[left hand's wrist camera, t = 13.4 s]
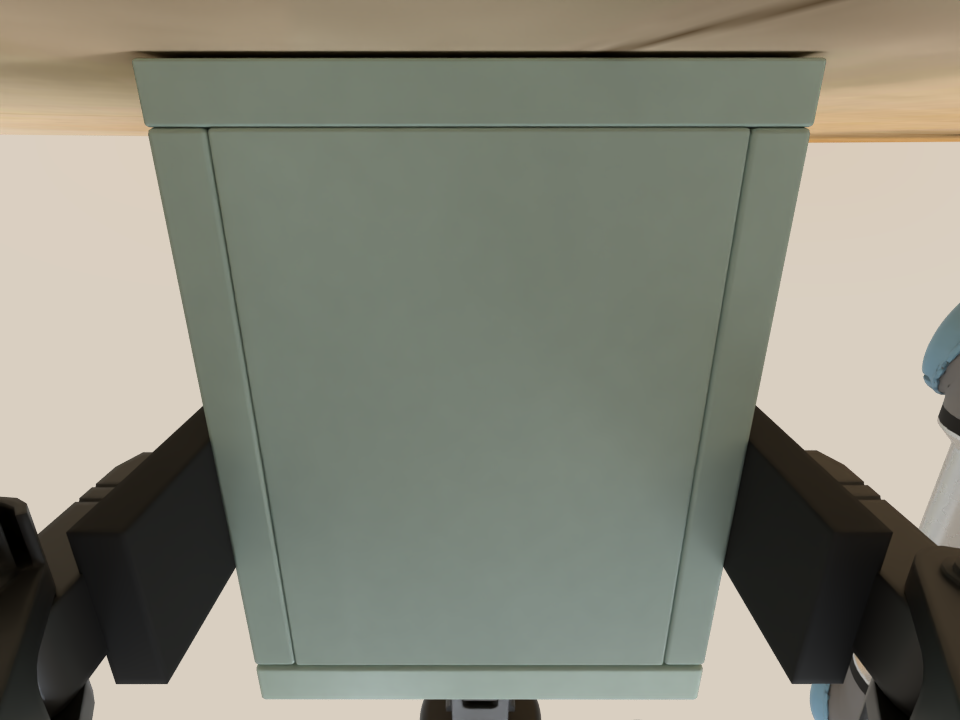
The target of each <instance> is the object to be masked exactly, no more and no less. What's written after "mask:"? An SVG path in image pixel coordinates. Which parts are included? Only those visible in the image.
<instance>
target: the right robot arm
mask: <svg viewBox="0 0 960 720" xmlns="http://www.w3.org/2000/svg"><path fill="white" fill-rule="evenodd" d="M922 371H923V373H924V374H925V375H924V380H925V383H926V384H927V385H928V386H929V387H930V388H932V389H933V390H934V391H935V392H936V393H938V394H941V395H945V399H944V402H943V405H942V408H941V410H940V413H939V416H938V424H939V425H940V427H941V428H942V429H943V431H944V432H945V433H946V435H947V436H948V437H949V439H950V440H951V442H952V443H951V446H950V448H949V451H948V454H947V456H946V459H945V461H944V464H943V467H942V469H941V472H940V475H939V477H938V480H937V482H936V485H935V488H934V490H933V493H932V495H931V498H930V501H929V503H928V506H927V508H926V511H925V514H924V516H923V519H922V521H921V524H920V527H919V530H920V531H921V532H923V533H924V534H925V535H926V536H927V537H928V538H930V539H931V540H932V541H933V542H934V543H935V544H937V545H938V546H948V547H954V548H960V303H959V304H958V305H957V306H956V307H955V308H954V309H953V310H952V311H951V312H950V314H949V315H948V316H947V317H946V318H945V320H944V321H943V322H942V323H941V325H940V326H939V328H938V329H937V331H936V332H935V334H934V336H933V338H932V339H931V341H930V343H929V345H928V348H927V350H926V353H925V356H924V360H923V365H922ZM871 678H872V677H871V675H870V674H869V673H868V671H867V670H866V669H865V667H864V666H863V665H862V663H861V662H860V661H859V659H858V658H857V657H856V655H855V654H854V653H853V656H852V659H851V662H850V665H849V668H848V671H847V674H846V677H845V680H844V683H843V684H812V686H811V691H810V706H811V711H812V714H813V717H814V719H815V720H857V718H858V715H859V712H860V709H861V707H862V704H863V701H864V698H865V695H866V692H867V690H868V687H869V684H870V681H871ZM420 720H541V714H540V708H539V704H538V701H537V699H424V701H423V704H422V708H421V713H420Z"/></svg>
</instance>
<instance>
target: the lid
mask: <svg viewBox="0 0 960 720" xmlns="http://www.w3.org/2000/svg"><path fill="white" fill-rule="evenodd" d="M702 669H703V668H702V665H701V664H666V663H665V662H664V660H663V664H662V665H298V664H297V663H296V660H295V662H294V663H293V664H258V666H257V674H258V679H259V684H260V689H261V694H262V697H263V698H264V699H696V698H697V695H698V690H699V685H700V680H701V675H702Z"/></svg>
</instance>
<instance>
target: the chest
mask: <svg viewBox="0 0 960 720" xmlns="http://www.w3.org/2000/svg"><path fill="white" fill-rule="evenodd" d="M132 64H133V69H134V74H135V79H136V84H137V89H138V93H139V98H140V103H141V108H142V113H143V118H144V123H145V125H146V126H148V127H154V128H152V129H150V130H149V133H148V136H149V141H150V146H151V150H152V155H153V160H154V165H155V170H156V175H157V180H158V185H159V190H160V195H161V200H162V205H163V210H164V215H165V219H166V225H167V229H168V234H169V239H170V244H171V249H172V254H173V259H174V264H175V269H176V274H177V279H178V284H179V289H180V294H181V299H182V304H183V308H184V313H185V318H186V323H187V328H188V333H189V338H190V343H191V348H192V353H193V358H194V363H195V367H196V373H197V378H198V382H199V387H200V392H201V397H202V402H203V407H204V412H205V417H206V422H207V427H208V432H209V437H210V442H211V447H212V451H213V456H214V461H215V466H216V471H217V476H218V481H219V486H220V491H221V496H222V501H223V506H224V511H225V516H226V521H227V526H228V531H229V535H230V540H231V545H232V550H233V555H234V560H235V565H236V570H237V575H238V580H239V585H240V590H241V595H242V600H243V605H244V609H245V614H246V619H247V624H248V629H249V634H250V639H251V644H252V649H253V654H254V659H255V662H256V663H257V664H293V663H294V662H295V660H296V663H297V664H298V665H662V664H663V660H664V662H665V663H666V664H702V663H704V660H705V655H706V650H707V645H708V640H709V635H710V630H711V625H712V620H713V615H714V610H715V605H716V600H717V595H718V590H719V585H720V580H721V575H722V570H723V565H724V560H725V555H726V550H727V545H728V540H729V535H730V530H731V525H732V520H733V515H734V510H735V505H736V500H737V495H738V490H739V485H740V480H741V475H742V470H743V465H744V460H745V455H746V450H747V445H748V440H749V435H750V430H751V425H752V420H753V415H754V410H755V405H756V400H757V395H758V390H759V385H760V380H761V375H762V370H763V365H764V360H765V356H766V351H767V345H768V340H769V335H770V331H771V326H772V321H773V316H774V311H775V306H776V301H777V296H778V291H779V286H780V281H781V276H782V271H783V266H784V261H785V256H786V251H787V246H788V241H789V236H790V231H791V226H792V221H793V216H794V211H795V206H796V201H797V196H798V191H799V186H800V181H801V176H802V171H803V166H804V161H805V156H806V151H807V146H808V141H809V136H810V132H809V130H808V129H807V128H805V127H809V126H812V125H813V123H814V119H815V114H816V109H817V104H818V99H819V94H820V89H821V84H822V79H823V74H824V69H825V64H826V59H824V58H135V59H133V60H132Z"/></svg>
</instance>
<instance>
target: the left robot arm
mask: <svg viewBox="0 0 960 720" xmlns="http://www.w3.org/2000/svg"><path fill="white" fill-rule="evenodd" d="M723 567H724V569H725V570H726V572H727V574H728V575H729V577H730V579H731V581H732V582H733V584H734V586H735V587H736V589H737V591H738V593H739V594H740V596H741V598H742V599H743V601H744V603H745V604H746V606H747V608H748V610H749V611H750V613H751V615H752V616H753V618H754V620H755V622H756V623H757V625H758V627H759V628H760V630H761V632H762V634H763V635H764V637H765V639H766V640H767V642H768V644H769V646H770V647H771V649H772V651H773V652H774V654H775V656H776V657H777V659H778V661H779V663H780V664H781V666H782V668H783V669H784V671H785V673H786V675H787V676H788V678H789V680H790V681H791V683H792V684H843V683H844V680H845V677H846V674H847V671H848V668H849V665H850V662H851V659H852V656H853V653H854V654H855V655H856V657H857V658H858V659H859V661H860V662H861V663H862V665H863V666H864V667H865V669H866V670H867V671H868V673H869V674H870V675H871V677H872V678H871V681H870V684H869V687H868V690H867V692H866V695H865V698H864V701H863V704H862V707H861V709H860V712H859V715H858V718H857V720H960V548H954V547H948V546H938V545H937V544H935V543H934V542H933V541H932V540H931V539H930V538H928V537H927V536H926V535H925V534H924V533H923V532H921V531H920V530H919V529H918V528H917V527H916V526H915V525H913V524H912V523H911V522H910V521H909V520H908V519H906V518H905V517H904V516H903V515H902V514H901V513H899V512H898V511H897V510H896V509H895V508H894V507H892V506H891V505H890V504H889V503H888V502H887V501H885V500H881V498H880V495H879V494H877V493H876V492H875V491H874V490H873V489H872V488H870V487H869V486H868V485H864V482H863V481H862V480H861V479H860V478H859V477H858V476H856V475H855V474H854V473H853V472H852V471H851V470H849V469H848V468H847V467H846V466H845V465H843V464H841V463H840V462H838V461H836V460H834V459H832V458H830V457H828V456H826V455H824V454H822V453H821V452H819V451H812V450H811V451H810V450H808V451H806V450H804V449H802V448H801V447H800V446H799V445H798V444H797V443H796V442H795V441H794V440H793V439H792V438H790V437H789V436H788V435H787V434H786V433H785V432H784V431H783V430H782V429H781V428H780V427H779V426H777V425H776V424H775V423H774V422H773V421H772V420H771V419H770V418H769V417H768V416H767V415H766V414H764V413H763V412H762V411H761V410H760V409H759V408H758V407H757V406H756V405H755V410H754V415H753V420H752V425H751V430H750V435H749V440H748V445H747V450H746V455H745V460H744V465H743V470H742V475H741V480H740V485H739V490H738V495H737V500H736V505H735V510H734V515H733V520H732V525H731V530H730V535H729V540H728V545H727V550H726V555H725V560H724V565H723ZM235 568H236V565H235V560H234V555H233V550H232V545H231V540H230V535H229V531H228V526H227V521H226V516H225V511H224V506H223V501H222V496H221V491H220V486H219V481H218V476H217V471H216V466H215V461H214V456H213V451H212V447H211V442H210V437H209V432H208V427H207V422H206V417H205V412H204V407H201V408H200V409H199V410H198V411H197V412H196V413H195V414H194V415H193V416H192V417H191V418H189V419H188V420H187V421H186V422H185V423H184V424H183V425H182V426H181V427H180V428H179V429H178V430H176V431H175V432H174V433H173V434H172V435H171V436H170V437H169V438H168V439H167V440H166V441H165V442H163V443H162V444H161V445H160V446H159V447H158V448H157V449H156V450H155V451H154V452H143V453H141V454H139V455H137V456H135V457H134V458H132V459H130V460H128V461H126V462H124V463H122V464H120V465H118V466H117V467H115V468H114V469H113V470H112V471H110V472H109V473H108V474H107V475H106V476H105V477H104V478H102V479H101V480H100V481H99V482H98V483H97V484H96V487H92V488H91V489H90V490H89V491H87V492H86V493H85V494H84V495H83V496H82V497H80V500H79V502H75V503H73V504H72V505H71V506H70V507H69V508H68V509H67V510H65V511H64V512H63V513H62V514H61V515H60V516H59V517H57V518H56V519H55V520H54V521H53V522H52V523H50V524H49V525H48V526H47V527H46V528H45V529H44V530H42V531H41V532H40V533H39V534H37V532H36V529H35V526H34V523H33V520H32V517H31V515H30V512H29V509H28V506H27V504H26V503H25V502H23V501H21V500H20V499H18V498H10V497H0V720H92V716H93V710H94V703H95V702H94V695H93V690H92V687H91V684H90V681H89V678H90V676H91V675H92V673H93V672H94V671H95V669H96V668H97V667H98V665H99V664H100V663H101V661H102V660H103V659H104V657H105V656H106V655H107V658H108V661H109V664H110V667H111V670H112V673H113V676H114V679H115V682H116V684H168V682H169V680H170V678H171V677H172V675H173V673H174V672H175V670H176V668H177V667H178V665H179V663H180V661H181V660H182V658H183V656H184V655H185V653H186V651H187V650H188V648H189V646H190V644H191V643H192V641H193V639H194V638H195V636H196V634H197V632H198V631H199V629H200V627H201V626H202V624H203V622H204V621H205V619H206V617H207V615H208V614H209V612H210V610H211V609H212V607H213V605H214V603H215V602H216V600H217V598H218V597H219V595H220V593H221V592H222V590H223V588H224V586H225V585H226V583H227V581H228V580H229V578H230V576H231V574H232V573H233V571H234V569H235Z"/></svg>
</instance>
